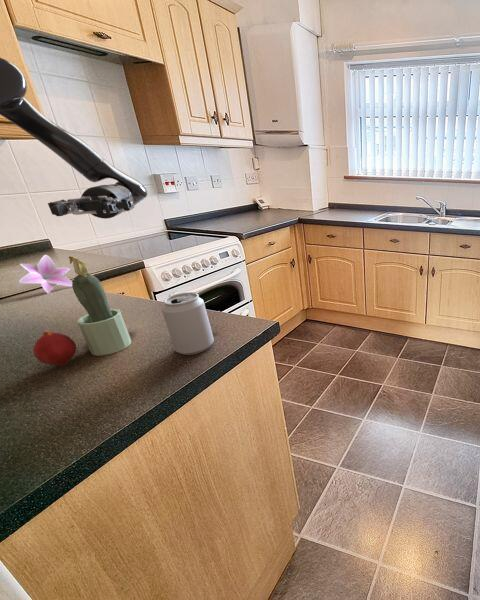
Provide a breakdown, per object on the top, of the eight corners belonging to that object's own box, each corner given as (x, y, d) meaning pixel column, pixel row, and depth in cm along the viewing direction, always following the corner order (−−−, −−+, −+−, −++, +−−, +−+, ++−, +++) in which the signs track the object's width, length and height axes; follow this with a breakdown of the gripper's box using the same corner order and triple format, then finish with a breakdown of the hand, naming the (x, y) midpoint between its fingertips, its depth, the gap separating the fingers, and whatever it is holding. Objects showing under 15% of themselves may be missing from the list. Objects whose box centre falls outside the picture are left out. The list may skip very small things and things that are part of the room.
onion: (39, 367, 67) (20, 332, 64) (76, 354, 71) (61, 320, 68) (48, 377, 64) (29, 341, 61) (86, 362, 68) (70, 328, 65)
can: (173, 346, 74) (156, 296, 69) (210, 335, 78) (197, 287, 73) (179, 361, 68) (161, 308, 64) (218, 348, 73) (205, 297, 68)
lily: (18, 302, 99) (19, 276, 95) (15, 278, 104) (16, 252, 100) (74, 301, 108) (78, 277, 104) (69, 279, 114) (72, 256, 110)
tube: (85, 358, 70) (71, 326, 66) (97, 342, 75) (84, 312, 72) (126, 351, 72) (114, 320, 69) (135, 336, 78) (124, 307, 75)
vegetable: (128, 341, 75) (94, 254, 67) (105, 351, 71) (67, 260, 63) (116, 337, 76) (82, 252, 68) (94, 346, 73) (55, 258, 65)
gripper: (65, 186, 81) (30, 193, 68) (136, 184, 86) (116, 189, 73) (77, 218, 84) (46, 230, 71) (145, 213, 89) (128, 224, 76)
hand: (82, 209), depth 72 cm, fingers open, 8 cm apart
